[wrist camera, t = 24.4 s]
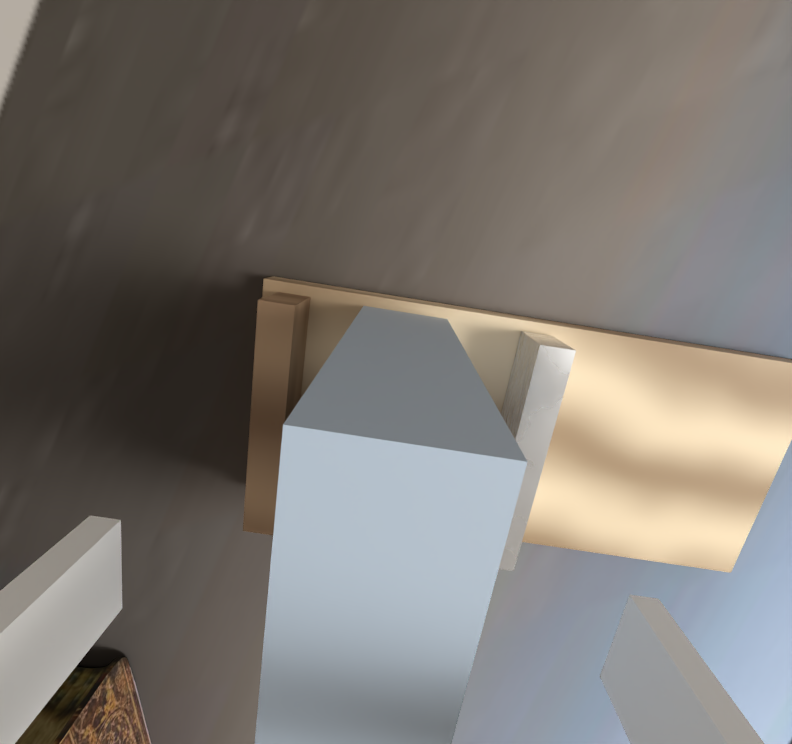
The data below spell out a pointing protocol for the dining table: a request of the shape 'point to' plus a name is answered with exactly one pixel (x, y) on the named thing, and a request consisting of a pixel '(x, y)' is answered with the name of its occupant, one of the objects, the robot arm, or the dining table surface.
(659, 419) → the shelf board
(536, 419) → the sliding bookend
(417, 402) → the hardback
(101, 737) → the book
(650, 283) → the dining table surface
